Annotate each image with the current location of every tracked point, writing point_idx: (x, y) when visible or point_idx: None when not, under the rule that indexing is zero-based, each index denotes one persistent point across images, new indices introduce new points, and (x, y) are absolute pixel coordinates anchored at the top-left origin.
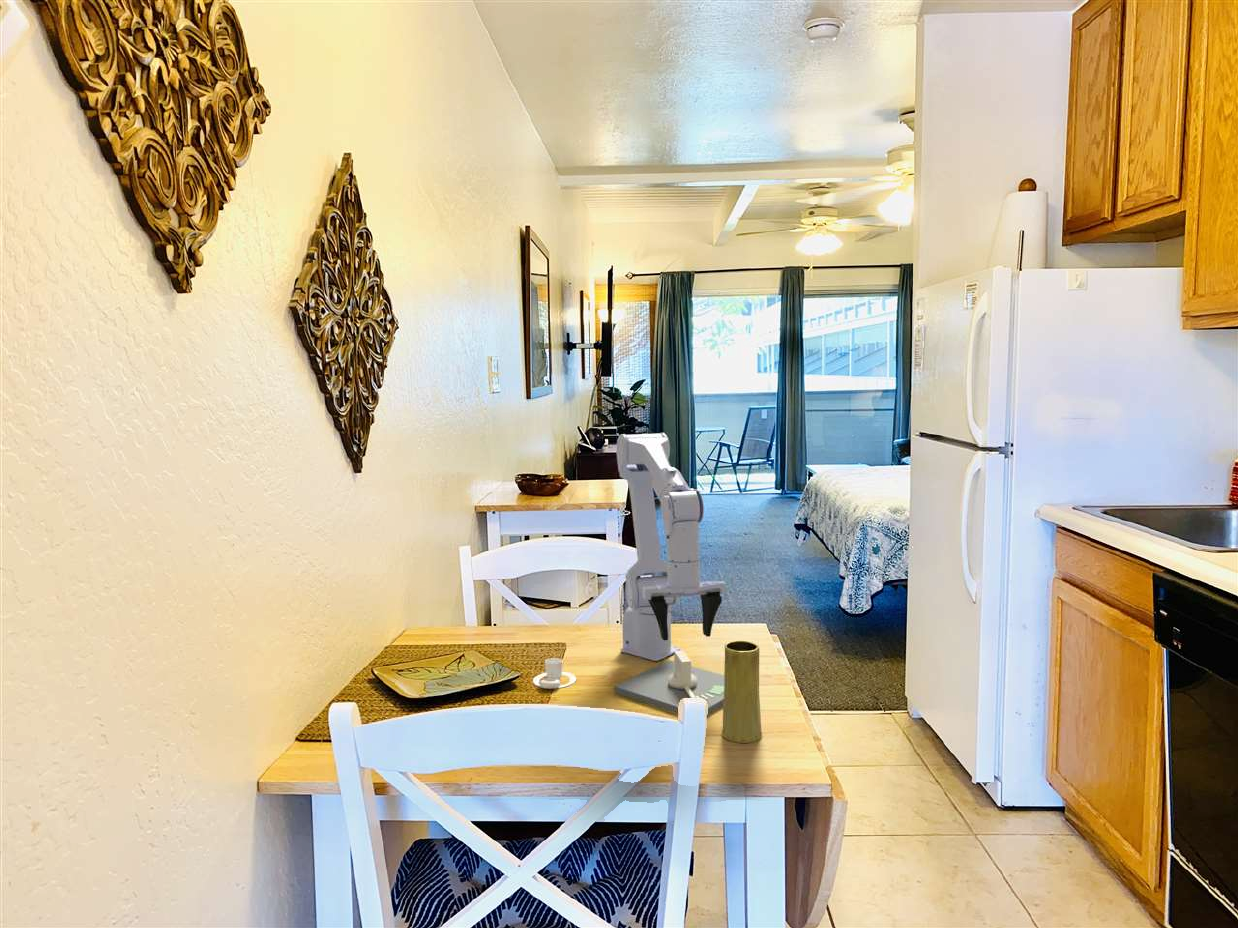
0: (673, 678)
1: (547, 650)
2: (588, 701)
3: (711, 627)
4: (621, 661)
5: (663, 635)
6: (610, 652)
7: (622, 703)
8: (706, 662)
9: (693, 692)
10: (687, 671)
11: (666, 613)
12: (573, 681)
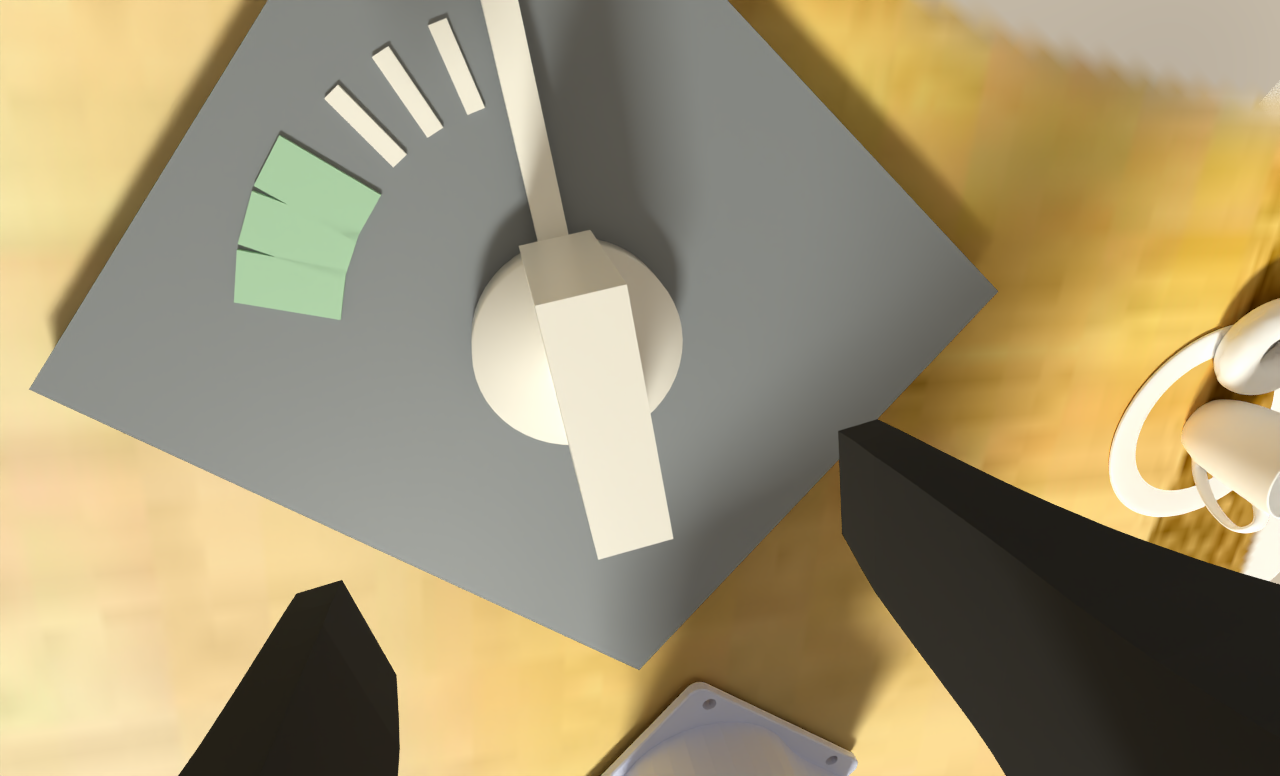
0: (647, 341)
1: None
2: (1132, 151)
3: (237, 688)
4: (863, 659)
5: (923, 445)
6: (894, 738)
7: (958, 117)
8: (415, 714)
9: (497, 190)
10: (559, 265)
11: (1170, 655)
12: (1135, 408)
